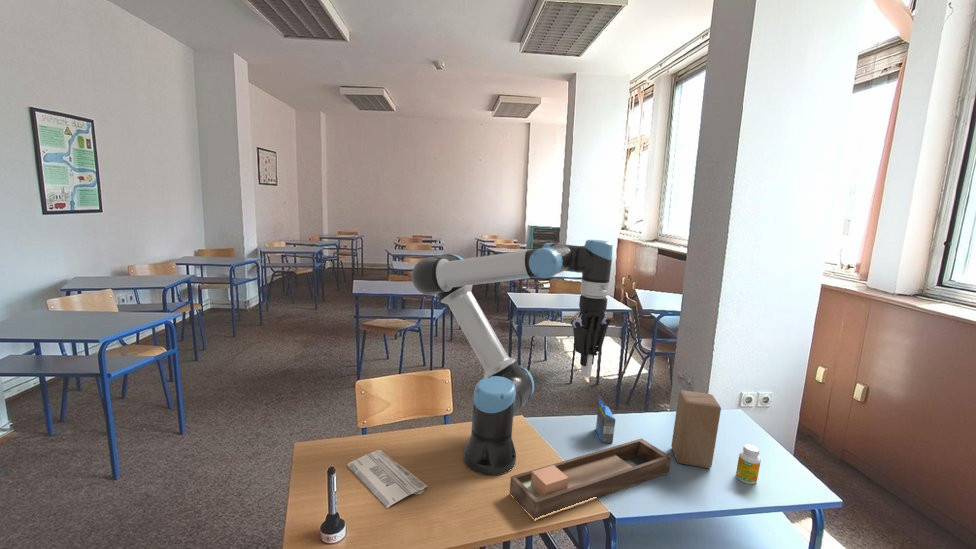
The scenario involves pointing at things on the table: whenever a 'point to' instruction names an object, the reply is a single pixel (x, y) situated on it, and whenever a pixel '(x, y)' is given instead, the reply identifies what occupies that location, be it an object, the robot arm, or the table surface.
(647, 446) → the channel
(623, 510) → the table surface
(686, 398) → the block
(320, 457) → the table surface
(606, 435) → the blue retail box
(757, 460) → the supplement bottle
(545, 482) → the clay block
